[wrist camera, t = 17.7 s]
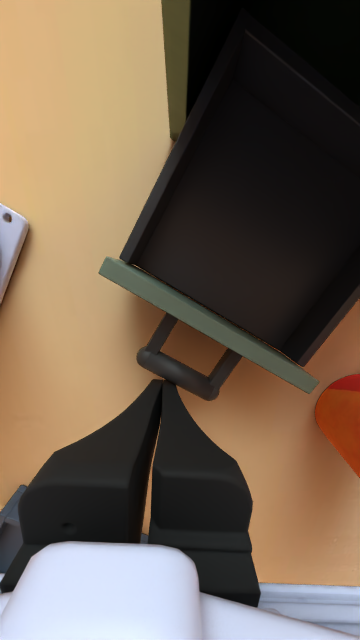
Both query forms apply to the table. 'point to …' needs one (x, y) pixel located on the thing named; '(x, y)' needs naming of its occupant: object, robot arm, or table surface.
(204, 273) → the drawer
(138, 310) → the table surface
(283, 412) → the table surface
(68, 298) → the table surface
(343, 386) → the coffee cup
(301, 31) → the cabinet
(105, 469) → the robot arm
